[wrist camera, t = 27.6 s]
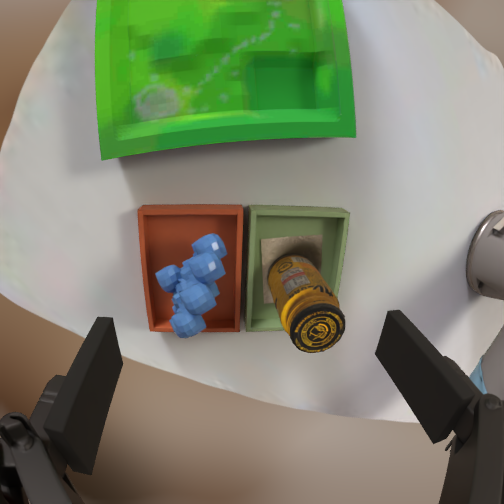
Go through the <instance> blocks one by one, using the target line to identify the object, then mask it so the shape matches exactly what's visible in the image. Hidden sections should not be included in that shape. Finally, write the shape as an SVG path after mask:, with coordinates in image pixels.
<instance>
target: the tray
mask: <svg viewBox="0 0 504 504" xmlns="http://www.w3.org/2000/svg"><path fill="white" fill-rule="evenodd" d="M95 85H96V105H97V120H98V132H99V142H100V151H101V160H107V159H112V158H118V157H123V156H129V155H134V154H140V153H146V152H152V151H159V150H166V149H173V148H180V147H188V146H196V145H205V144H215V143H225V142H236V141H249V140H264V139H284V138H321V137H346V138H356V120H355V104H354V91H353V79H352V69H351V60H350V51H349V43H348V36H347V28H346V22H345V15H344V9H343V3H342V0H97V9H96V28H95Z"/></svg>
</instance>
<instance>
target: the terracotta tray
mask: <svg viewBox="0 0 504 504" xmlns="http://www.w3.org/2000/svg"><path fill="white" fill-rule="evenodd" d="M138 227H139V241H140V253H141V264H142V274H143V284H144V292H145V300H146V308H147V315H148V322H149V329H150V331H155V332H174V330H173V328H172V326H171V324H170V321H169V320H170V319H171V317H172V316H173V315H174V314H175V313H174V311H173V309H172V307H173V306H174V303H173V301H172V298H173V297H172V296H174V295H173V293H167V292H165V291H164V290H163V289H162V288H161V286H160V284H159V282H158V280H157V278H156V275H155V273H157V272H158V271H160V270H161V269H163V268H164V267H166V266H170V265H173V264H174V265H176V266H177V267H179V268H182V267H183V264H182V263H183V262H184V261H186V260H187V259H190V258H191V257H193V254H194V251H193V248H192V244H193V243H194V242H195V241H197V240H198V239H200V238H201V237H203V236H205V235H208V234H212V233H214V234H217V235H218V236H219V237H220V238H221V239H222V241H223V242H224V245H225V248H226V251H227V255H226V256H224V257H223V258H221V259H220V260H221V262H222V264H223V267H224V270H225V273H226V274H225V275H223V276H222V277H221V278H219V279H217V280H216V281H215V283H216V285H217V287H218V290H219V293H220V294H219V295H218V296H216V297H215V301H216V304H217V305H216V306H215V307H213V308H212V309H211V310H209V311H207V312H206V313H204V314H202V315H201V316H202V318H203V320H204V322H205V324H206V328H205V329H204V330H202V331H201V332H240V298H241V265H242V235H243V208H242V205H220V204H183V205H142V206H141V207H140V208H139V209H138Z"/></svg>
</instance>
